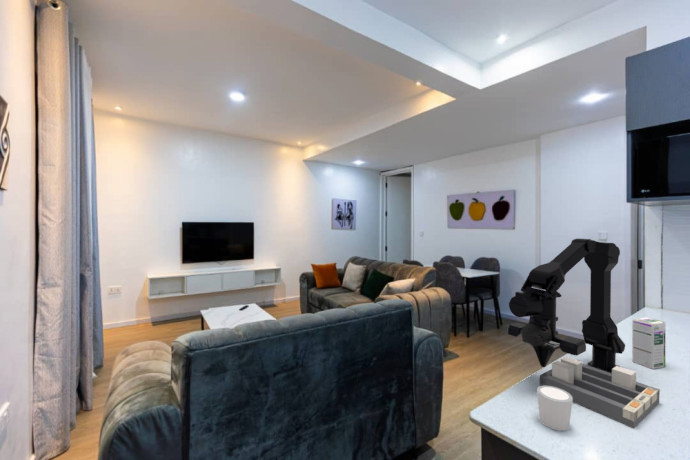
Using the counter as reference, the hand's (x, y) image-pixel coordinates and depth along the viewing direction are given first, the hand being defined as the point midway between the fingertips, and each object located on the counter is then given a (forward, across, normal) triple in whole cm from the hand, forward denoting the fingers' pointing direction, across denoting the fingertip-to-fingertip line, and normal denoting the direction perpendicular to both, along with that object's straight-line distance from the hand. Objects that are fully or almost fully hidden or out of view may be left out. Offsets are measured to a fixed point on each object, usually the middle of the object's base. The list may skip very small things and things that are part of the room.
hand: (543, 366), depth 89 cm
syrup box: (+5, +12, +40) cm, 42 cm away
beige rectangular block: (+3, +5, +5) cm, 8 cm away
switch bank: (+4, +11, +5) cm, 13 cm away
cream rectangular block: (+3, +5, 0) cm, 6 cm away
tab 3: (+3, +15, +10) cm, 18 cm away
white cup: (+5, +11, -17) cm, 21 cm away
